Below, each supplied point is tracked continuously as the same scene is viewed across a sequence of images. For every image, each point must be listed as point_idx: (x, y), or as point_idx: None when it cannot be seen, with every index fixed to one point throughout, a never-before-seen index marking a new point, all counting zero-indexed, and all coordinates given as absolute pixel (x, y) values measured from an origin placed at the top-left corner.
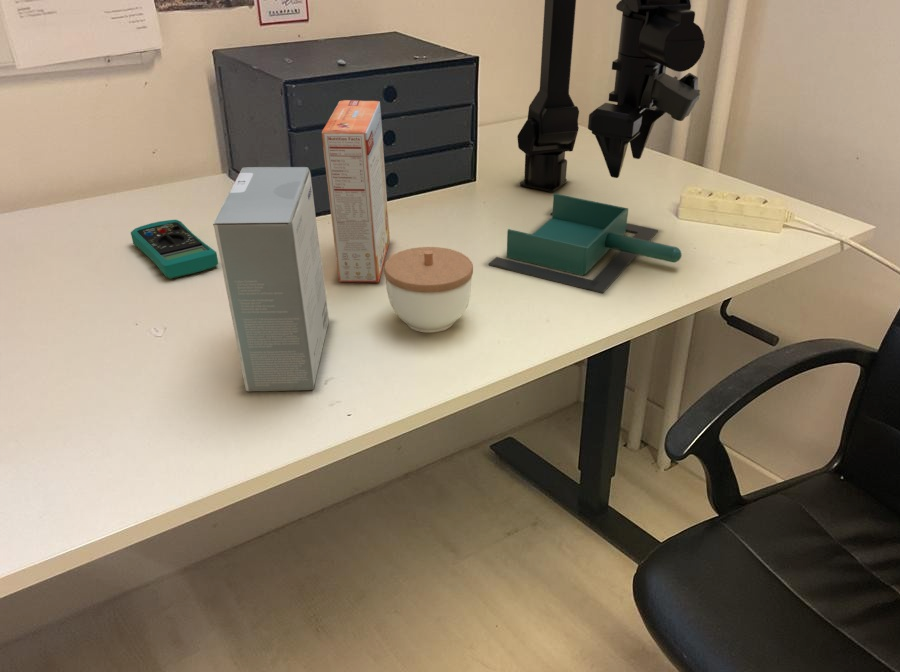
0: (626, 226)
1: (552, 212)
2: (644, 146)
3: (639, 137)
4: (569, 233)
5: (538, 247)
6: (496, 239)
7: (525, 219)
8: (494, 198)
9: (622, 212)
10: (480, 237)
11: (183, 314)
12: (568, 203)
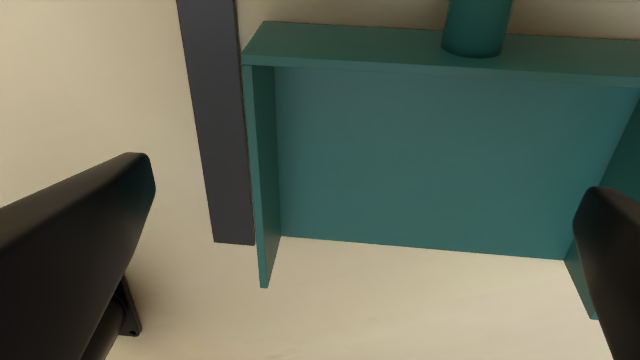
0: (209, 35)
1: (246, 243)
2: (74, 187)
3: (63, 278)
4: (361, 173)
5: None
6: (462, 297)
7: (314, 278)
8: (239, 349)
9: (296, 64)
10: (463, 323)
11: None
12: (269, 237)
